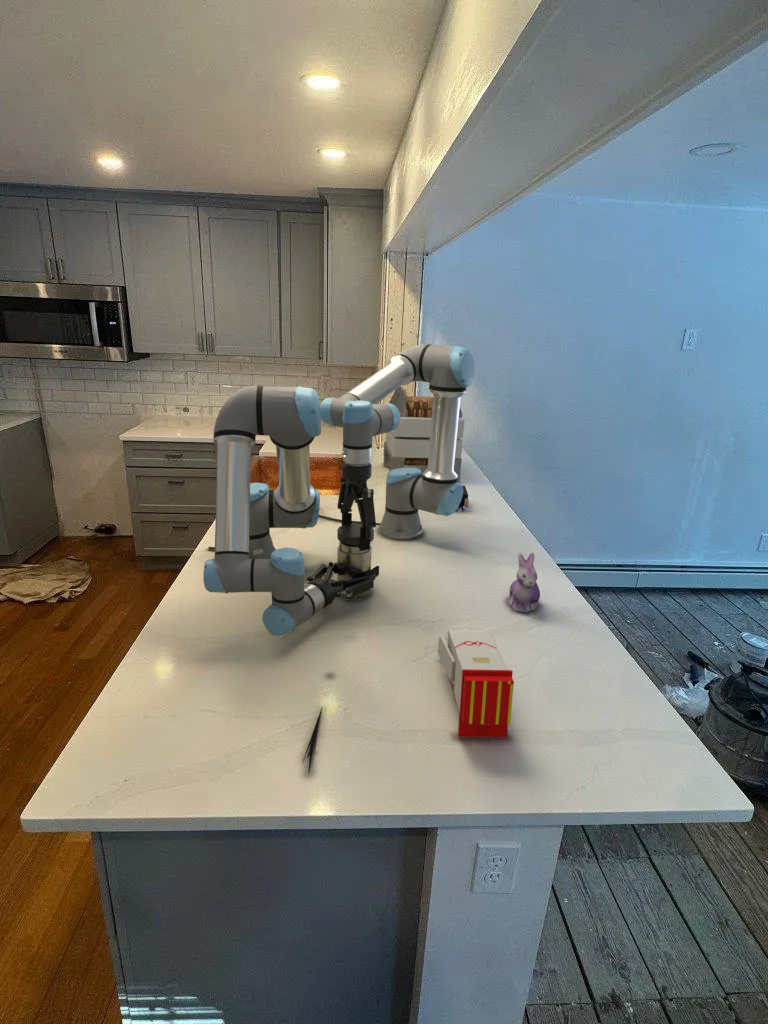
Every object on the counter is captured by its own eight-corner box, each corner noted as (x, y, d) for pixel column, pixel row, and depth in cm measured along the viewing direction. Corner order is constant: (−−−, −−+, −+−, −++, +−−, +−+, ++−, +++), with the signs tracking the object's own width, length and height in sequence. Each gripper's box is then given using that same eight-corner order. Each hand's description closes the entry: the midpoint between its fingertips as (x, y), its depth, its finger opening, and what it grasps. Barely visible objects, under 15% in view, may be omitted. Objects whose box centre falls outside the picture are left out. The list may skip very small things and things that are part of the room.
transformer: (382, 463, 289) (386, 382, 275) (445, 464, 293) (451, 384, 279) (390, 482, 257) (394, 392, 243) (460, 483, 261) (468, 394, 247)
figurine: (522, 617, 148) (530, 565, 143) (498, 599, 157) (504, 549, 152) (549, 609, 153) (558, 559, 148) (524, 593, 161) (531, 544, 156)
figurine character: (468, 516, 224) (463, 500, 237) (471, 498, 221) (465, 483, 234) (452, 515, 224) (447, 499, 237) (453, 498, 220) (449, 482, 234)
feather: (331, 679, 122) (336, 673, 122) (307, 777, 96) (313, 769, 95) (324, 675, 122) (329, 669, 121) (298, 772, 95) (304, 764, 95)
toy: (488, 613, 130) (523, 677, 101) (484, 667, 133) (517, 744, 104) (435, 612, 130) (455, 676, 101) (432, 666, 133) (451, 743, 103)
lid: (377, 533, 156) (377, 525, 155) (369, 547, 147) (369, 539, 146) (342, 529, 158) (343, 521, 157) (332, 542, 149) (332, 535, 148)
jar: (330, 593, 156) (330, 542, 151) (349, 581, 164) (351, 532, 158) (357, 603, 152) (358, 550, 146) (376, 590, 159) (378, 540, 154)
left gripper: (280, 598, 147) (330, 567, 166) (350, 623, 137) (396, 588, 155) (279, 572, 145) (331, 544, 163) (350, 596, 134) (397, 563, 153)
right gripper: (324, 453, 152) (325, 530, 160) (365, 476, 134) (363, 561, 142) (349, 451, 156) (348, 526, 164) (392, 472, 138) (388, 555, 146)
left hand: (362, 565), depth 159 cm, fingers closed on jar, 9 cm apart
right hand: (355, 542), depth 153 cm, fingers closed on lid, 10 cm apart
